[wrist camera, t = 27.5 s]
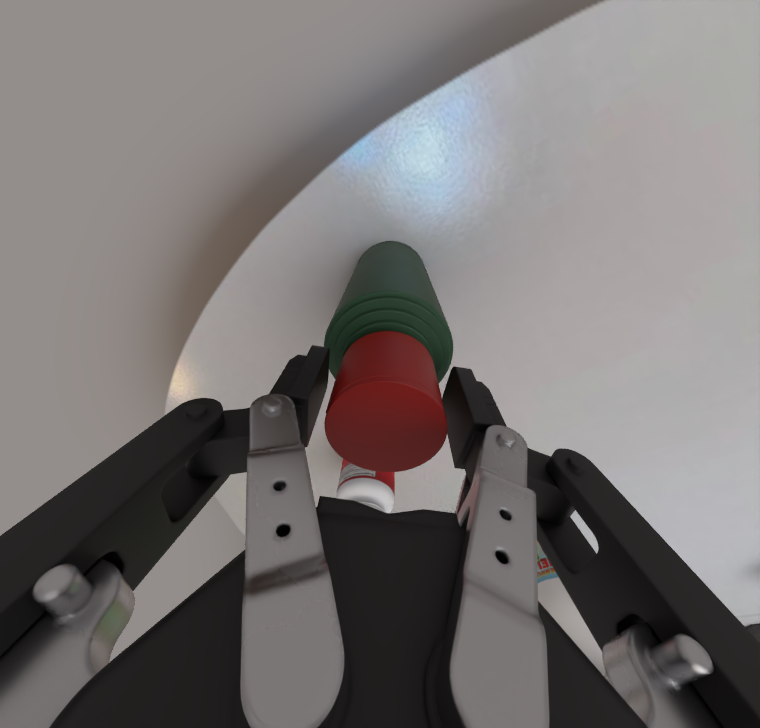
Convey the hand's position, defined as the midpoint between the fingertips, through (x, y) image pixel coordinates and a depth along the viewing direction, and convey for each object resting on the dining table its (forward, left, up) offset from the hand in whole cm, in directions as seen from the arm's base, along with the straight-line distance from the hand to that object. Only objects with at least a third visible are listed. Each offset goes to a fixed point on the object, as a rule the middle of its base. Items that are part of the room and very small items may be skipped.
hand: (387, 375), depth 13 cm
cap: (0, 0, 0) cm, 0 cm away
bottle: (0, 0, -16) cm, 16 cm away
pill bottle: (+1, -21, -16) cm, 27 cm away
